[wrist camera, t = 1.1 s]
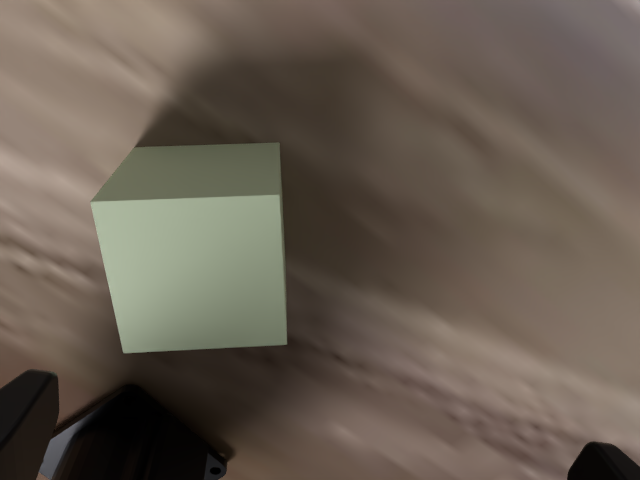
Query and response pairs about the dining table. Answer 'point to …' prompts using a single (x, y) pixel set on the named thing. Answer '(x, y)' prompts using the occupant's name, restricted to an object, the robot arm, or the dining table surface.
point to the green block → (195, 247)
